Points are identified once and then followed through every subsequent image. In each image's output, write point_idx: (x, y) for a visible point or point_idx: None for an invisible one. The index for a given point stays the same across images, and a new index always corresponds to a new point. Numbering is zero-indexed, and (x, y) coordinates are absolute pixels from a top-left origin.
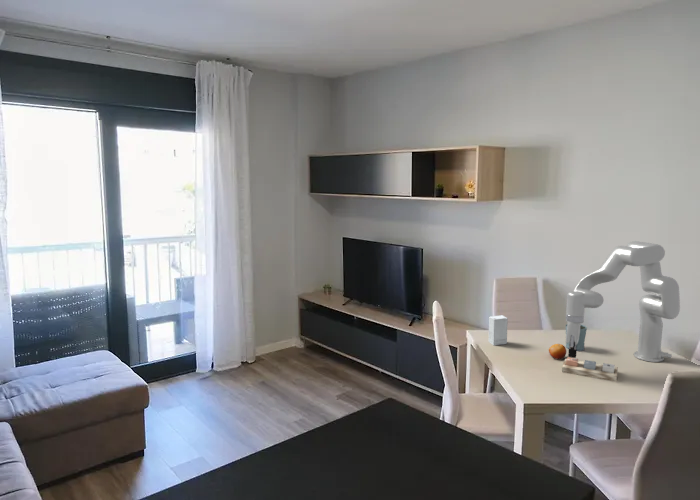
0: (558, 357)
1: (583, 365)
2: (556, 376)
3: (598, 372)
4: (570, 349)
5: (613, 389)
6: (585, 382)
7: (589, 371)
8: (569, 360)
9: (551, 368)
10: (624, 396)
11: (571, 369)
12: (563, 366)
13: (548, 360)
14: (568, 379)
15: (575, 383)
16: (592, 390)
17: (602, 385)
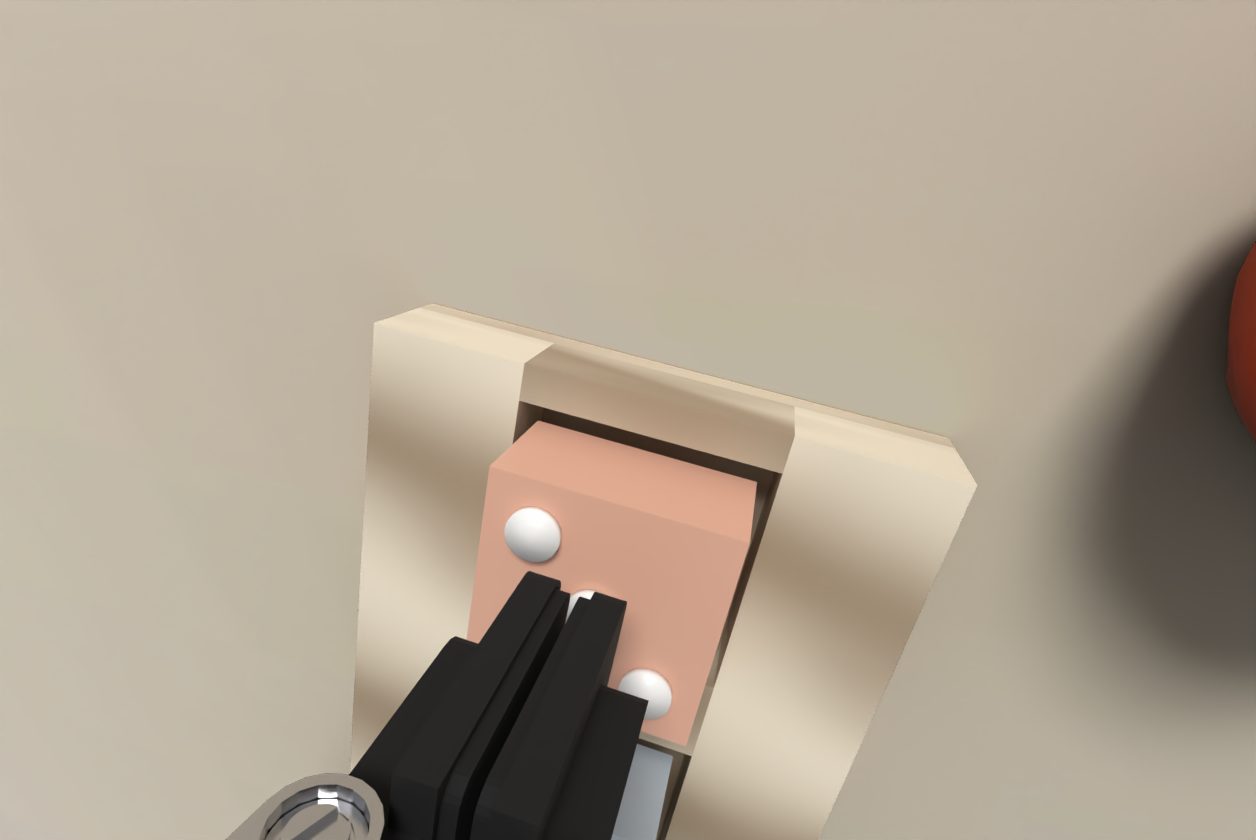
0: (1231, 327)
1: None
2: (186, 183)
3: None
4: (339, 791)
5: (154, 790)
6: (185, 571)
7: (358, 731)
8: (497, 536)
9: (547, 104)
10: (51, 817)
11: (375, 483)
12: (408, 355)
13: (1136, 39)
14: (167, 367)
15: (84, 439)
16: (5, 586)
17: (199, 727)
